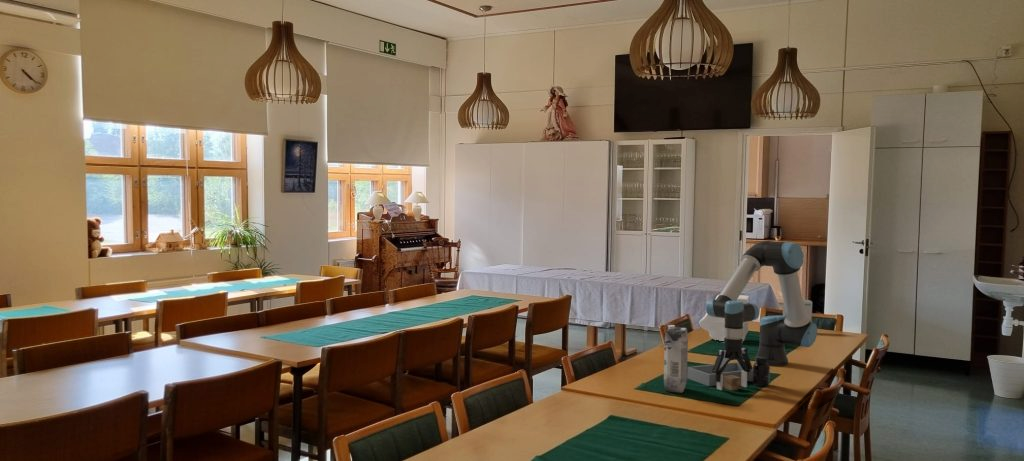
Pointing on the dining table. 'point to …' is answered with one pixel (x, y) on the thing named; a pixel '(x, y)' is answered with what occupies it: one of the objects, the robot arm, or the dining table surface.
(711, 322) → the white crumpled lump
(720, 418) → the dining table surface
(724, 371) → the tote
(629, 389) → the dining table surface
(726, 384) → the walnut cube
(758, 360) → the supplement bottle
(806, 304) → the hard drive box
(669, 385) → the juice carton
